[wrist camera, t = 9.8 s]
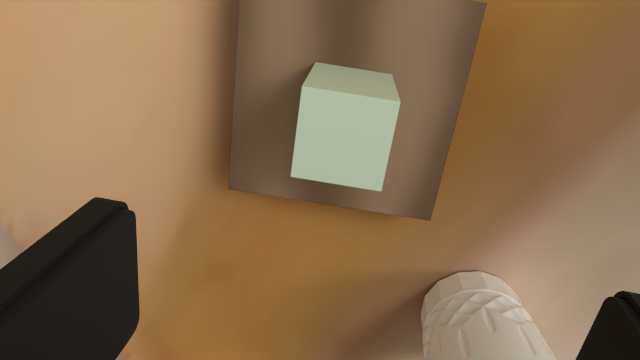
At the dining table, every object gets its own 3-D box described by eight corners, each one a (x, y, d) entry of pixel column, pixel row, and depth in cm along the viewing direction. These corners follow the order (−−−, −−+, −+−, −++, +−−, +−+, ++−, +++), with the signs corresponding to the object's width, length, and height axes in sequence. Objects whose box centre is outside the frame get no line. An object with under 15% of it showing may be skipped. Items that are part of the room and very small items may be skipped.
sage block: (391, 74, 24) (400, 101, 19) (377, 146, 26) (381, 191, 20) (315, 62, 24) (301, 86, 19) (305, 134, 26) (290, 176, 20)
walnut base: (472, 0, 25) (486, 3, 22) (423, 198, 30) (430, 220, 27) (254, -31, 25) (241, -33, 23) (240, 169, 30) (228, 189, 27)
